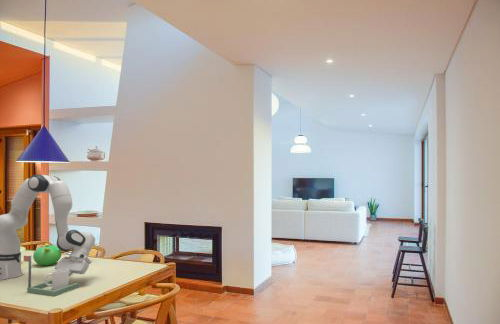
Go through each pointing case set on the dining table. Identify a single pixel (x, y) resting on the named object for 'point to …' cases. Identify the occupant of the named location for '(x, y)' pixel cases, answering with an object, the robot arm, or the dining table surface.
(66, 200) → the robot arm
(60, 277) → the cup
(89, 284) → the dining table surface
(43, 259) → the green teapot
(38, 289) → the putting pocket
